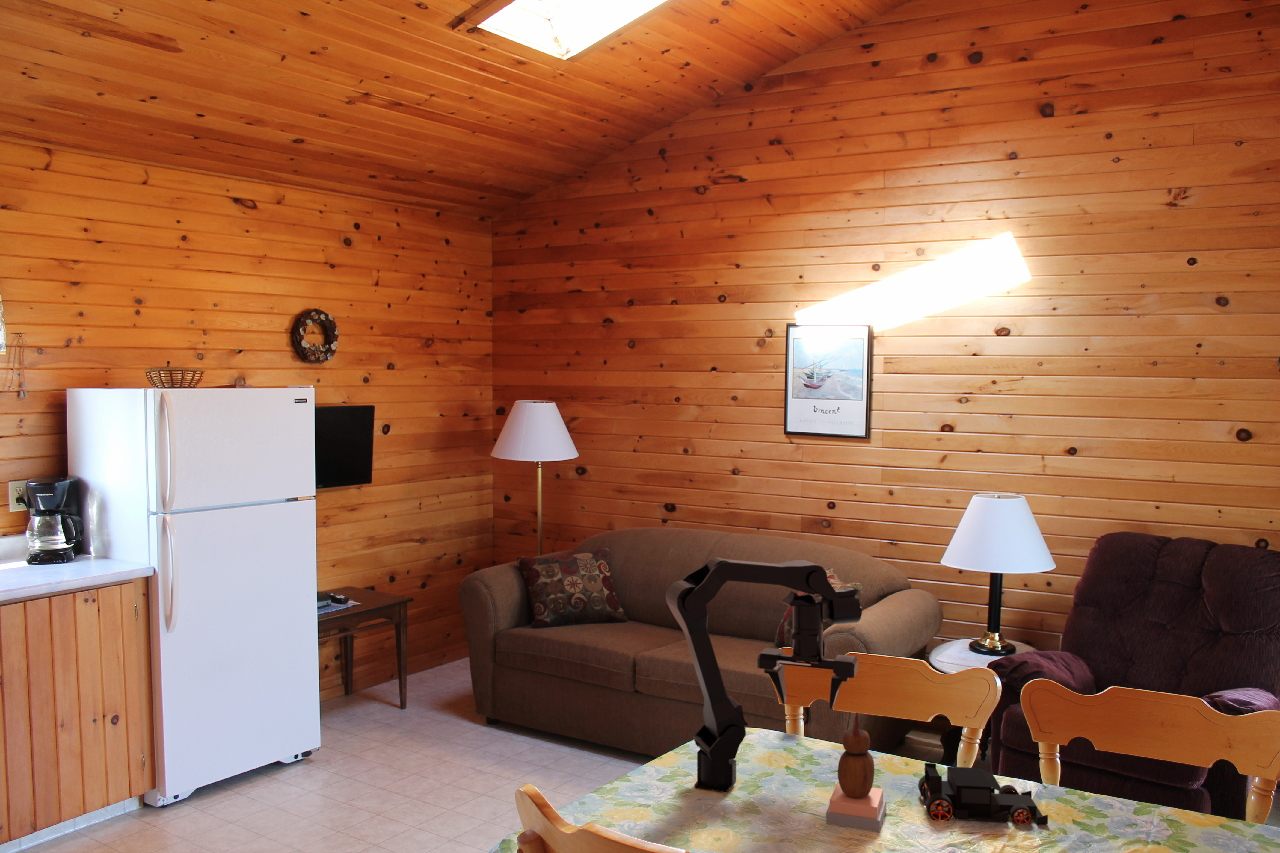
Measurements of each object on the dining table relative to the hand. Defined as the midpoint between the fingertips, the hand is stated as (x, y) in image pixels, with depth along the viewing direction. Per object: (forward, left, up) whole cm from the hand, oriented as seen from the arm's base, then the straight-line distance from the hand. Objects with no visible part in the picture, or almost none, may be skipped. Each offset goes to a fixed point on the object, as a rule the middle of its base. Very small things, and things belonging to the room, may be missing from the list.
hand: (807, 706), depth 187 cm
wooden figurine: (+12, -17, -9) cm, 22 cm away
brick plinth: (+12, -17, -13) cm, 24 cm away
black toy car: (+32, -6, -14) cm, 35 cm away
